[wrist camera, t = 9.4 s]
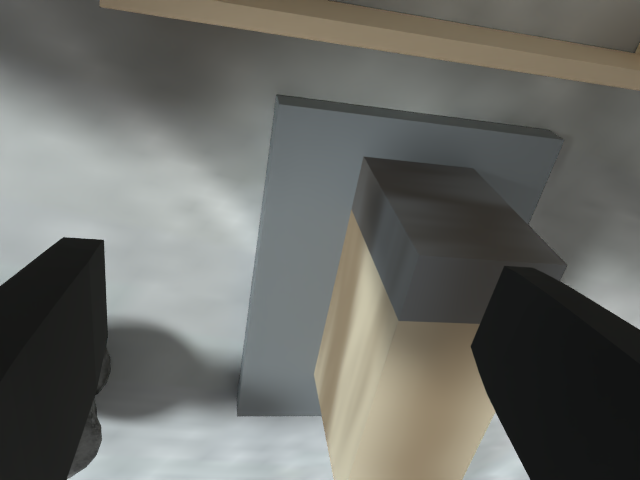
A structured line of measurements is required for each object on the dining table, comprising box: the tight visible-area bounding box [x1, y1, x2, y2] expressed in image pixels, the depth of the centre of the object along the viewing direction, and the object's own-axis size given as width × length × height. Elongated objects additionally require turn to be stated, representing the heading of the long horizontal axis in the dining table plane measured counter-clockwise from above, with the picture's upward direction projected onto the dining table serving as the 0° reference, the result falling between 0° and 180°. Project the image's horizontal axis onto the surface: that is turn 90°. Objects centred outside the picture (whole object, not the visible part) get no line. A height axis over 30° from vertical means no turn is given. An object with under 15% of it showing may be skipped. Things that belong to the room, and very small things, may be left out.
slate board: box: [237, 95, 564, 416], centre depth 21 cm, size 10×14×1 cm
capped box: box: [314, 156, 567, 480], centre depth 18 cm, size 4×10×6 cm, turn 170°
